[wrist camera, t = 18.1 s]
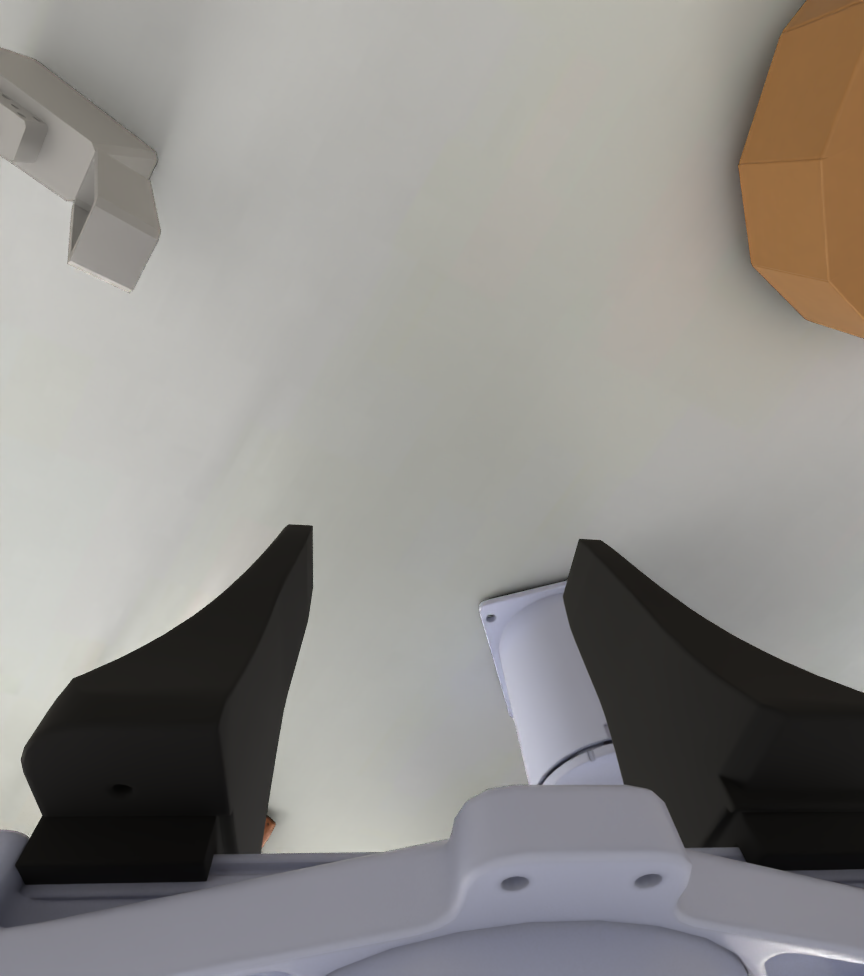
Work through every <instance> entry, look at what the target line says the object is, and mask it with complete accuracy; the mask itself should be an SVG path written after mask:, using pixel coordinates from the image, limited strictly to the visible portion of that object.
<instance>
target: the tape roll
mask: <svg viewBox="0 0 864 976" xmlns="http://www.w3.org/2000/svg"><path fill="white" fill-rule="evenodd" d="M738 169H739V176H740V184H741V191H742V199H743V206H744V214H745V221H746V229H747V236H748V244H749V251H750V259H751V264H752V266H753V267H754V268H755V269H756V270H757V271H758V272H759V273H760V274H761V275H762V276H763V277H764V278H765V279H766V280H767V281H768V282H769V283H770V284H771V285H772V286H773V287H774V288H775V289H776V290H777V291H778V292H779V293H780V294H781V295H782V296H783V297H784V298H785V299H786V300H787V301H788V302H789V303H790V304H791V305H792V306H793V307H794V308H795V309H796V311H797V312H798V313H799V314H800V315H801V316H802V317H803V318H804V319H806V320H808V321H811V322H814V323H817V324H820V325H823V326H827V327H830V328H833V329H836V330H839V331H842V332H845V333H848V334H851V335H854V336H857V337H860V338H864V0H806V2H805V3H804V4H803V6H802V7H801V8H800V9H799V11H798V12H797V13H796V14H795V16H794V17H793V18H792V20H791V21H790V22H789V23H788V25H787V26H786V27H785V28H784V30H783V32H782V34H781V36H780V38H779V41H778V44H777V47H776V50H775V53H774V56H773V59H772V62H771V65H770V69H769V72H768V75H767V78H766V81H765V84H764V87H763V90H762V93H761V96H760V100H759V103H758V106H757V109H756V112H755V115H754V118H753V121H752V124H751V127H750V130H749V134H748V137H747V140H746V143H745V146H744V149H743V152H742V155H741V158H740V161H739V165H738Z"/></svg>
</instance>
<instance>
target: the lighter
mask: <svg viewBox="0 0 864 976" xmlns="http://www.w3.org/2000/svg"><path fill="white" fill-rule="evenodd" d="M0 156H1V157H3V158H4V159H6V160H7V161H9V162H10V163H12V164H13V165H15V166H16V167H17V168H19V169H20V170H22V171H23V172H25V173H26V174H28V175H29V176H30V177H32V178H33V179H35V180H36V181H38V182H39V183H41V184H42V185H44V186H45V187H46V188H48V189H49V190H51V191H52V192H54V193H55V194H57V195H58V196H59V197H61V198H62V199H64V200H65V201H74V202H73V205H72V212H71V224H70V237H69V249H68V262H67V264H68V265H71V266H73V267H75V268H77V269H79V270H81V271H83V272H85V273H88V274H90V275H92V276H94V277H96V278H98V279H100V280H102V281H105V282H107V283H109V284H111V285H113V286H115V287H117V288H119V289H121V290H124V291H126V292H128V293H131V292H132V291H133V289H134V288H135V286H136V284H137V282H138V280H139V278H140V276H141V274H142V272H143V270H144V268H145V266H146V264H147V262H148V260H149V258H150V256H151V254H152V252H153V250H154V248H155V246H156V244H157V242H158V240H159V237H160V234H161V229H160V224H159V219H158V214H157V210H156V205H155V200H154V196H153V191H152V186H151V182H150V181H149V178H150V176H151V174H152V171H153V169H154V167H155V165H156V163H157V161H158V158H157V155H156V152H155V151H154V150H153V149H152V148H150V147H149V146H148V145H146V144H145V143H144V142H143V141H141V140H140V139H139V138H137V137H136V136H135V135H133V134H132V133H131V132H130V131H128V130H127V129H126V128H124V127H123V126H122V125H120V124H119V123H118V122H116V121H115V120H114V119H113V118H111V117H110V116H109V115H107V114H106V113H105V112H103V111H102V110H101V109H100V108H98V107H97V106H96V105H94V104H93V103H92V102H90V101H89V100H88V99H87V98H85V97H84V96H83V95H81V94H80V93H79V92H77V91H76V90H75V89H73V88H72V87H71V86H70V85H68V84H67V83H66V82H64V81H63V80H62V79H60V78H59V77H58V76H57V75H55V74H54V73H53V72H51V71H50V70H49V69H47V68H46V67H45V66H43V65H42V64H41V63H40V62H38V61H37V60H35V59H33V58H30V57H27V56H24V55H21V54H18V53H16V52H13V51H10V50H7V49H4V48H1V47H0Z"/></svg>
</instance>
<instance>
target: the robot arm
mask: <svg viewBox="0 0 864 976" xmlns="http://www.w3.org/2000/svg"><path fill="white" fill-rule="evenodd" d="M312 590H313V526H310V525H290V524H289V525H287V526H286V527H285V528H284V529H283V530H282V532H281V533H280V534H279V535H278V537H277V538H276V539H275V540H274V541H273V543H272V544H271V545H270V546H269V547H268V548H267V549H266V551H265V552H264V553H263V554H262V555H261V556H260V557H259V558H258V559H257V560H256V561H255V562H254V563H253V564H252V565H251V567H250V568H249V569H248V570H247V571H246V572H245V573H244V574H243V575H241V576H240V577H239V578H238V579H237V580H236V581H235V582H234V583H233V584H232V585H231V586H230V587H229V588H227V589H226V590H225V591H224V592H223V593H222V594H221V595H219V596H218V597H217V598H216V599H215V600H213V601H212V602H211V603H210V604H208V605H207V606H206V607H204V608H203V609H202V610H200V611H199V612H198V613H196V614H195V615H194V616H192V617H191V618H189V619H187V620H186V621H184V622H183V623H181V624H180V625H178V626H177V627H175V628H173V629H172V630H170V631H169V632H167V633H166V634H164V635H162V636H161V637H159V638H157V639H155V640H153V641H152V642H150V643H148V644H146V645H144V646H143V647H141V648H139V649H137V650H135V651H133V652H131V653H129V654H127V655H125V656H123V657H121V658H119V659H117V660H115V661H112V662H110V663H108V664H106V665H103V666H101V667H99V668H97V669H94V670H92V671H90V672H87V673H85V674H83V675H81V676H78V677H76V678H73V679H72V680H71V682H70V683H69V684H68V686H67V687H66V688H65V689H64V690H63V692H62V693H61V694H60V695H59V696H58V698H57V699H56V700H55V702H54V703H53V705H52V706H51V707H50V709H49V710H48V712H47V713H46V715H45V716H44V718H43V719H42V721H41V723H40V724H39V726H38V727H37V729H36V730H35V732H34V733H33V735H32V736H31V738H30V739H29V741H28V742H27V744H26V745H25V747H24V750H23V754H22V757H21V763H22V768H23V772H24V775H25V777H26V779H27V782H28V784H29V786H30V788H31V791H32V793H33V795H34V797H35V800H36V802H37V804H38V806H39V809H40V811H41V813H42V815H43V816H42V818H41V819H40V821H39V823H38V825H37V826H36V828H35V830H34V832H33V834H32V835H31V837H30V838H29V837H28V836H27V835H25V834H23V833H20V832H18V831H12V830H0V976H864V693H863V692H860V691H857V690H855V689H852V688H849V687H847V686H844V685H841V684H839V683H836V682H833V681H831V680H828V679H825V678H823V677H820V676H817V675H815V674H813V673H810V672H808V671H806V670H803V669H801V668H799V667H796V666H794V665H792V664H790V663H787V662H785V661H783V660H781V659H779V658H777V657H774V656H772V655H770V654H768V653H766V652H764V651H762V650H760V649H758V648H756V647H755V646H753V645H751V644H749V643H747V642H745V641H743V640H741V639H739V638H737V637H736V636H734V635H732V634H730V633H729V632H727V631H725V630H723V629H722V628H720V627H719V626H717V625H715V624H714V623H712V622H710V621H709V620H707V619H705V618H704V617H702V616H701V615H699V614H698V613H696V612H695V611H693V610H692V609H690V608H689V607H687V606H686V605H685V604H683V603H682V602H680V601H679V600H677V599H676V598H675V597H673V596H672V595H670V594H669V593H668V592H667V591H665V590H664V589H663V588H661V587H660V586H659V585H657V584H656V583H655V582H653V581H652V580H651V579H650V578H648V577H647V576H646V575H645V574H643V573H642V572H641V571H640V570H638V569H637V568H636V567H635V566H633V565H632V564H631V563H630V562H628V561H627V560H626V559H625V558H624V557H622V556H621V555H620V554H619V553H617V552H616V551H615V550H613V549H612V548H611V547H610V546H608V545H607V544H605V543H604V542H603V541H601V540H588V539H579V541H578V545H577V548H576V552H575V555H574V559H573V562H572V566H571V569H570V573H569V576H568V580H567V581H563V582H559V583H555V584H550V585H546V586H542V587H538V588H534V589H530V590H526V591H522V592H517V593H513V594H509V595H505V596H501V597H497V598H493V599H489V600H485V601H483V602H482V603H480V605H479V612H480V616H481V620H482V623H483V626H484V630H485V633H486V637H487V640H488V644H489V647H490V650H491V654H492V657H493V661H494V664H495V668H496V671H497V675H498V678H499V681H500V685H501V688H502V692H503V695H504V699H505V702H506V705H507V709H508V712H509V715H510V717H512V718H514V721H515V726H516V730H517V735H518V739H519V743H520V748H521V752H522V757H523V761H524V765H525V770H526V774H527V779H528V783H529V785H509V786H503V787H496V788H490V789H487V790H485V791H483V792H481V793H479V794H477V795H476V796H474V797H472V798H470V799H468V800H467V801H466V802H465V804H464V805H463V807H462V808H461V810H460V811H459V813H458V814H457V816H456V817H455V819H454V823H453V828H452V833H451V836H450V838H449V839H444V840H439V841H434V842H430V843H425V844H420V845H415V846H410V847H405V848H400V849H395V850H391V851H386V852H355V853H281V854H261V849H262V842H263V835H264V829H265V822H266V816H267V809H268V803H269V796H270V790H271V783H272V777H273V771H274V765H275V759H276V753H277V746H278V741H279V735H280V729H281V723H282V717H283V712H284V707H285V703H286V699H287V694H288V691H289V687H290V684H291V680H292V677H293V673H294V669H295V666H296V662H297V659H298V655H299V652H300V648H301V644H302V641H303V637H304V634H305V630H306V626H307V622H308V617H309V611H310V604H311V597H312ZM488 615H493V616H491V617H487V616H488Z"/></svg>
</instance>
